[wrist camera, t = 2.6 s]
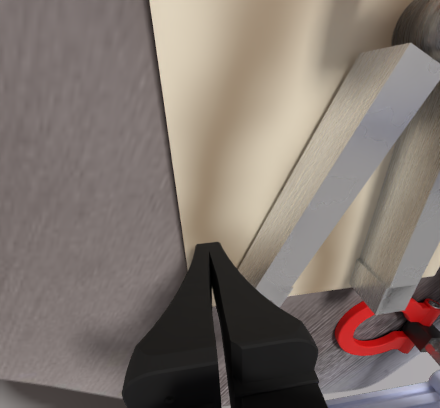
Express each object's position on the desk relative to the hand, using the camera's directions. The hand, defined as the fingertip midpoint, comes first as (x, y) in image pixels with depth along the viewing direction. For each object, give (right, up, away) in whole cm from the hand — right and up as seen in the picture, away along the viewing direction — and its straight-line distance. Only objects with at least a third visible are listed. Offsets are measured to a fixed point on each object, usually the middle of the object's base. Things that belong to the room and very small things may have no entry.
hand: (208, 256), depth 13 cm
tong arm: (+5, +4, 0) cm, 6 cm away
